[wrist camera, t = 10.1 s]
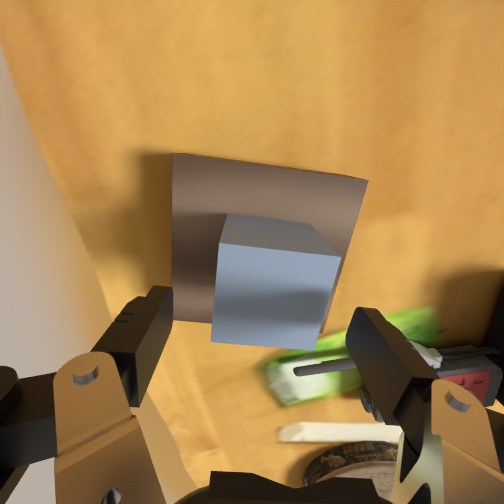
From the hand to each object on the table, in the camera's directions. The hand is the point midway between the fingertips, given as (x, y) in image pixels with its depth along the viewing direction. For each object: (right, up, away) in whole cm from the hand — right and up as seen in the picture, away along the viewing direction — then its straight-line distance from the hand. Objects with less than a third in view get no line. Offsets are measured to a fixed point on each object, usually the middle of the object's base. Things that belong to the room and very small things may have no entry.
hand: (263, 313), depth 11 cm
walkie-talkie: (+14, -10, +16) cm, 23 cm away
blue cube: (0, +2, +6) cm, 7 cm away
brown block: (0, +4, +10) cm, 11 cm away
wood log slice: (+15, -29, +24) cm, 40 cm away
